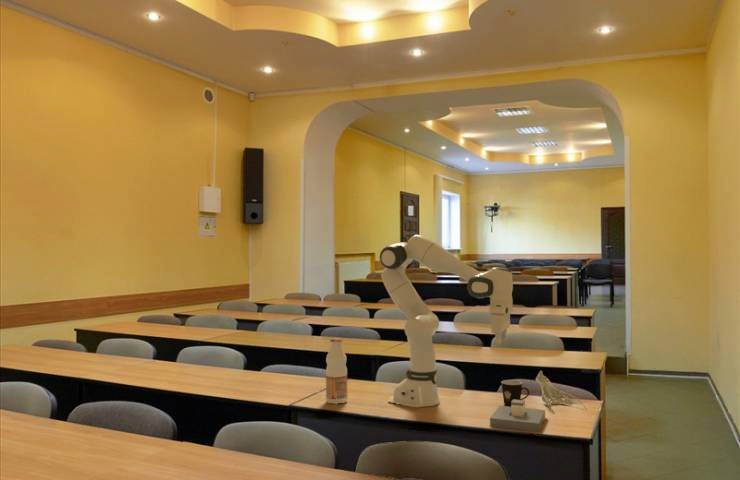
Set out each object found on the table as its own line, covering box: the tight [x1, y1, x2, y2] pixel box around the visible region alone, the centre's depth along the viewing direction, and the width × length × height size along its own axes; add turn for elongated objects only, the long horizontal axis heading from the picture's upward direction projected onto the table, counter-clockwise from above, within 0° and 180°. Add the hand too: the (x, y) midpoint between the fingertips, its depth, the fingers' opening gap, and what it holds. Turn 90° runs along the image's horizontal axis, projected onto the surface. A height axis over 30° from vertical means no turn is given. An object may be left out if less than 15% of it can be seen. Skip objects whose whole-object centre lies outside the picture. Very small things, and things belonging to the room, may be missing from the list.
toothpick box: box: [511, 399, 526, 417], centre depth 222 cm, size 4×4×8 cm
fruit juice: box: [325, 337, 348, 405], centre depth 255 cm, size 9×9×28 cm
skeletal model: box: [535, 370, 588, 414], centre depth 246 cm, size 16×9×25 cm
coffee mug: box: [500, 379, 530, 407], centre depth 243 cm, size 12×9×10 cm
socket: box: [489, 405, 546, 433], centre depth 222 cm, size 18×18×3 cm
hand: (500, 341), depth 232 cm, fingers open, 8 cm apart
